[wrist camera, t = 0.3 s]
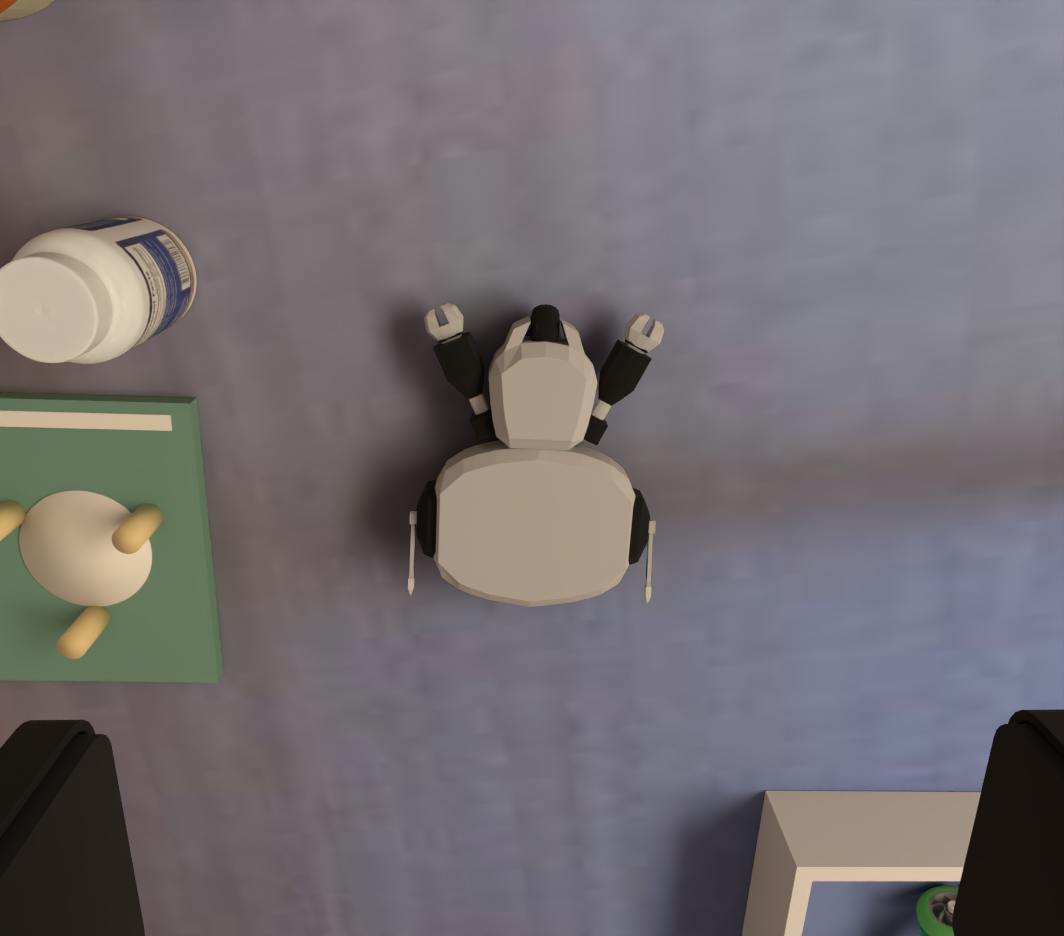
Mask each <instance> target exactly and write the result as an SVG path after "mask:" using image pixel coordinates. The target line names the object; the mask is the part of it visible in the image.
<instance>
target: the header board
mask: <svg viewBox="0 0 1064 936" xmlns="http://www.w3.org/2000/svg"><path fill="white" fill-rule="evenodd" d="M222 674H223V663H222V653H221V642H220V632H219V622H218V612H217V602H216V591H215V581H214V571H213V561H212V550H211V540H210V530H209V520H208V509H207V499H206V489H205V479H204V468H203V458H202V448H201V438H200V427H199V417H198V407H197V398H184V397H148V396H112V395H76V394H39V393H3V392H0V680H35V681H119V682H203V683H218V682H219V680H220V678H221V676H222Z"/></svg>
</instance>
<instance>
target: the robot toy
mask: <svg viewBox="0 0 1064 936" xmlns="http://www.w3.org/2000/svg"><path fill="white" fill-rule="evenodd" d="M440 307H441V308H442V309H443V311H444V313H445V315H446V317H447V319H448V321H449V322H447V323H444V324H442V325H440V322H439V320H438V317H437V314H436V310H435V308H434V309H431V310H429V311H427V313H426V315H425V317H424V321H425V326H426V332H427V333H428V334H430V335H431V336H432V337H433V338H434V339H435V340H437V341H438V342H439V344H437V345H436V346H435V347H434V351H435V353H436V355H437V358H438V360H439V362H440V364H441V367H442V369H443V371H444V374H445V376H446V378H447V381H448V382H450V383H451V384H452V385H453V386H454V387H455V388H456V389H457V390H458V391H460V392H461V393H462V394H463V395H465V396H466V397H467V398H468V399H469V401H470V404H471V406H472V408H473V410H474V413H473V415H472V416H471V418H470V422H471V424H472V426H473V429H474V431H475V433H476V436H477V438H478V439H479V440H482V439H486V438H489V437H491V436H494V435H496V437H498V438H499V439H500V440H498V441H493V442H488V443H484V444H480V445H475V446H473V447H470V448H467V449H464V450H463V451H461V452H460V453H458V454H456V455H455V456H453V457H452V458H450V459H449V460H447V462H446V463H445V465H444V467H443V469H442V471H441V473H440V474H439V476H438V478H437V479H436V480H433V481H429V482H428V483H427V485H426V487H425V489H424V491H423V492H422V495H421V497H420V499H419V502H418V506H417V511H410V523H409V524H411V547H410V572H409V578H408V590H409V593H410V595H411V594H412V591H413V589H414V554H415V530H416V524H417V537H418V539H419V542H420V544H421V547H422V549H423V552H424V554H425V555H427V556H430V557H432V558H433V559H434V561H435V563H436V565H437V567H438V570H439V572H440V574H441V576H442V578H444V579H445V580H446V581H448V582H449V583H451V584H452V585H453V586H455V587H456V588H458V589H459V590H462V591H464V592H466V593H469V594H472V595H475V596H478V597H482V598H485V599H488V600H493V601H499V602H505V603H510V604H516V605H521V606H527V607H533V606H542V605H551V604H560V603H569V602H574V601H579V600H583V599H587V598H591V597H594V596H597V595H600V594H602V593H604V592H605V591H607V590H609V589H610V588H612V587H614V586H615V585H617V584H619V582H620V580H621V579H622V577H623V575H624V573H625V571H626V570H627V568H628V566H629V565H630V564H633V563H637V562H638V561H639V558H640V556H641V554H642V552H643V550H644V548H645V546H646V544H647V541H648V544H647V566H646V586H645V589H644V596H645V599H646V602H647V603H648V601H649V599H650V598H651V586H650V584H651V563H652V541H653V533H655V524H656V521H654V520H650V515H649V511H648V508H647V505H646V503H645V500H644V498H643V496H642V494H641V492H640V491H639V490H637V489H634V488H632V486H631V484H630V481H629V479H628V477H627V475H626V473H625V471H624V469H623V468H622V467H621V466H620V465H619V464H617V463H616V462H615V461H614V460H612V459H611V458H610V457H608V456H607V455H605V454H603V453H601V452H599V451H596V450H593V449H590V448H587V447H584V446H581V445H578V443H580V442H581V441H583V439H585V440H586V441H588V442H590V443H593V444H595V445H597V444H598V443H599V441H600V439H601V437H602V436H603V434H604V432H605V430H606V429H607V427H608V425H607V422H606V421H605V420H604V418H605V416H606V414H607V413H608V411H609V409H610V407H611V406H612V405H613V404H615V403H617V402H618V401H620V400H621V399H623V398H624V397H625V396H627V395H628V394H630V393H631V392H632V391H633V390H634V389H635V387H636V385H637V384H638V382H639V380H640V378H641V377H642V375H643V373H644V371H645V370H646V368H647V366H648V364H649V363H650V361H651V358H650V357H649V356H647V355H646V354H645V353H648V352H649V351H650V350H652V349H653V348H655V347H656V346H657V345H659V344H660V342H661V339H662V336H663V333H664V328H663V326H662V323H660V322H658V321H656V320H654V321H653V324H652V326H651V328H650V329H649V331H648V333H647V335H644V334H642V333H641V331H642V329H643V327H644V326H645V324H646V322H647V321H648V320H649V319H650V317H649V316H647V315H645V314H644V313H641V314H635V316H634V317H633V318H632V319H631V320H630V321H629V322H628V323H627V325H626V334H625V343H624V342H622V341H620V340H617V342H616V344H615V345H614V347H613V349H612V351H611V353H610V354H609V356H608V358H607V360H606V361H605V363H604V365H603V367H602V369H601V370H600V377H599V398H598V400H597V402H596V403H595V405H594V407H593V403H594V398H595V393H596V388H597V378H596V375H595V371H594V367H593V364H592V363H591V361H590V360H589V358H588V357H587V355H586V354H585V353H584V350H583V346H582V343H581V339H580V336H579V333H578V331H577V330H576V328H575V327H574V326H573V325H571V324H569V323H568V322H566V321H564V320H563V319H561V318H560V317H559V311H558V309H557V308H556V307H554V306H552V305H547V304H545V305H539V306H536V307H535V308H534V309H533V311H532V316H531V320H530V317H529V316H527V317H525V318H523V319H521V320H519V321H516V322H514V323H513V324H512V326H511V329H510V331H509V333H508V336H507V338H506V340H505V343H504V345H502V346H501V347H500V348H499V349H498V350H497V351H496V352H495V354H494V357H493V359H492V362H491V365H490V367H489V390H490V404H491V406H489V407H488V404H487V402H486V400H485V397H484V395H483V384H484V364H483V361H482V359H481V357H480V354H479V352H478V349H477V347H476V345H475V342H474V340H473V338H472V335H471V333H469V332H466V333H463V315H462V314H461V312H460V311H459V310H458V308H457V307H456V305H453V304H450V303H446V304H443V305H441V306H440ZM530 322H531V332H530V336H527V337H524V336H525V334H526V332H527V329H528V327H529V325H530ZM560 323H561V326H562V329H563V333H564V336H565V339H561V338H559V325H560ZM462 333H463V334H462ZM592 408H593V409H592Z"/></svg>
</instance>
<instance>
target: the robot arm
mask: <svg viewBox="0 0 1064 936" xmlns="http://www.w3.org/2000/svg"><path fill="white" fill-rule="evenodd" d="M952 925H953V932H954V936H1064V710H1021V711H1018V712H1015V713H1014V714H1013V716H1012V717H1011V718H1010V720H1009V723H1008V724H1004V725H1001V726H1000V727H999V728H998V729H997V730H996V733H995V736H994V739H993V743H992V748H991V752H990V756H989V760H988V765H987V769H986V773H985V778H984V782H983V786H982V790H981V795H980V799H979V803H978V807H977V812H976V816H975V820H974V825H973V829H972V833H971V837H970V842H969V846H968V850H967V854H966V859H965V863H964V867H963V872H962V876H961V880H960V884H959V889H958V893H957V897H956V901H955V906H954V910H953V917H952ZM0 936H145V933H144V925H143V919H142V914H141V908H140V903H139V897H138V891H137V886H136V880H135V875H134V869H133V864H132V858H131V852H130V847H129V841H128V836H127V830H126V824H125V819H124V813H123V808H122V802H121V796H120V791H119V785H118V780H117V774H116V769H115V763H114V757H113V752H112V747H111V743H110V740H109V739H108V737H107V736H106V735H103V734H95V732H94V729H93V727H92V726H91V724H90V723H89V722H88V721H85V720H30V721H27V722H24V723H23V724H21V725H20V726H19V727H18V728H17V729H16V730H15V731H14V733H13V734H12V735H11V736H10V737H9V739H8V740H7V741H6V742H5V743H4V745H3V746H2V747H1V748H0Z"/></svg>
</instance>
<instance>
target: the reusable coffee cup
mask: <svg viewBox="0 0 1064 936" xmlns="http://www.w3.org/2000/svg"><path fill="white" fill-rule="evenodd" d="M53 1H55V0H0V21H5V20H11V19H18V18H24V17H26V16H29V15H31V14H33V13H36V12H38V11H40V10H42V9H44V8H45V7H47V6H48V5H49V4H51V3H52V2H53Z"/></svg>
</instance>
